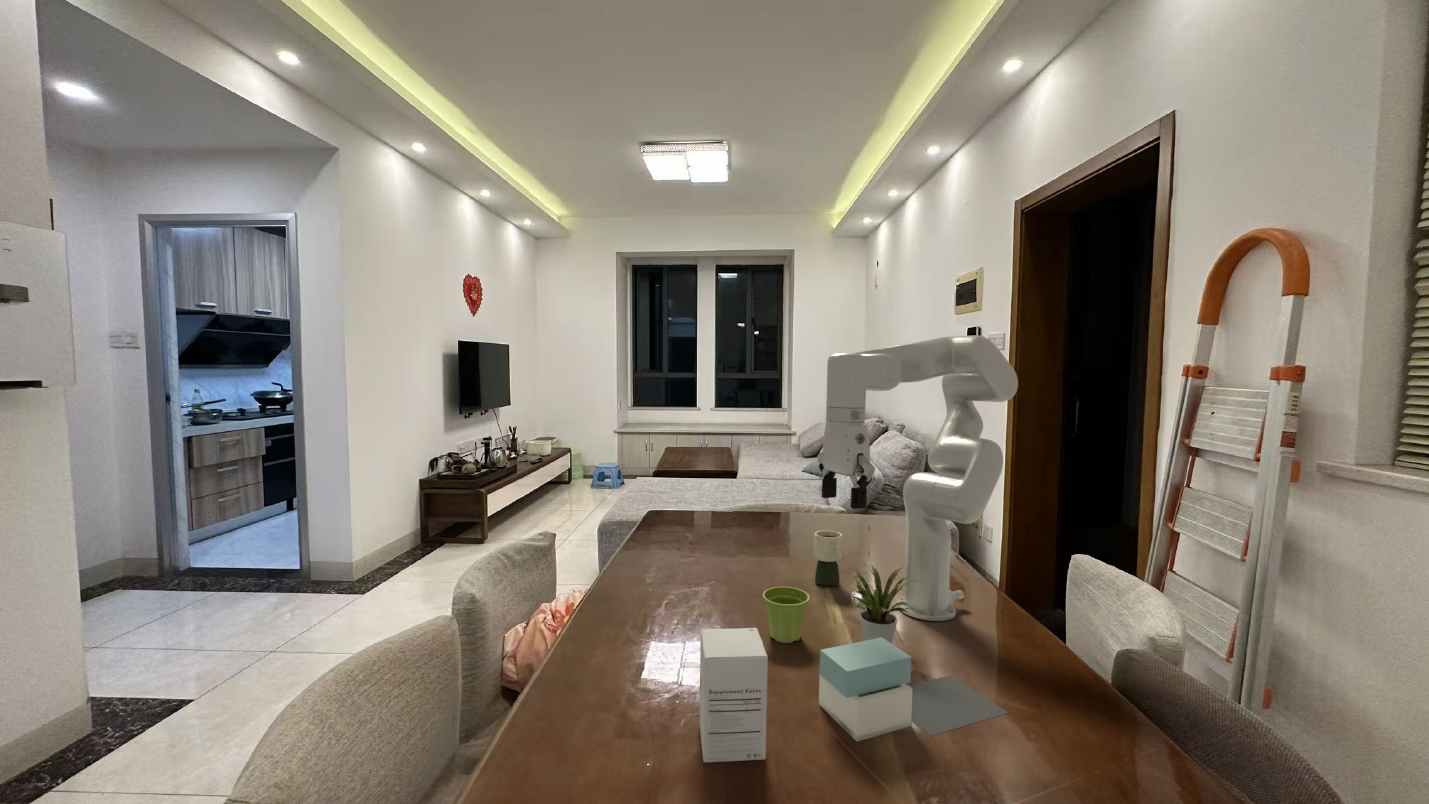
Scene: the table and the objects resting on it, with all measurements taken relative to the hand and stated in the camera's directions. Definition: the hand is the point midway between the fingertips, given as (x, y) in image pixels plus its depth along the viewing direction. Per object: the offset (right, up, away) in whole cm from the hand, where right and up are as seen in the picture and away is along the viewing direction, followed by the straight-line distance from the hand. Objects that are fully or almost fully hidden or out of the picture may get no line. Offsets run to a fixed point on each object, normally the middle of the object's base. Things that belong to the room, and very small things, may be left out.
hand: (843, 502), depth 112 cm
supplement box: (-23, -30, -30) cm, 48 cm away
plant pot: (-11, -28, +3) cm, 30 cm away
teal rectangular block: (-2, -23, -23) cm, 33 cm away
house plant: (+8, -29, -1) cm, 30 cm away
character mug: (+3, -27, +33) cm, 43 cm away
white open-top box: (-2, -29, -23) cm, 37 cm away
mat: (+12, -29, -20) cm, 37 cm away
